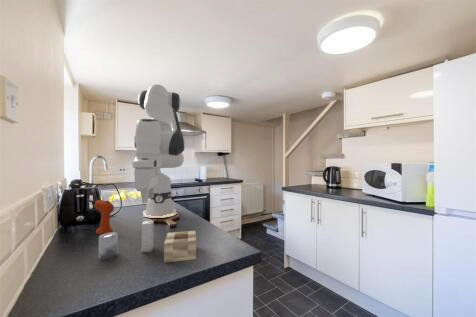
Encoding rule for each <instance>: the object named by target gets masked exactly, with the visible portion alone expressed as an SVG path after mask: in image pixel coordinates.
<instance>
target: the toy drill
mask: <svg viewBox="0 0 476 317" xmlns="http://www.w3.org/2000/svg"><path fill="white" fill-rule="evenodd" d="M86 201H87V202H89V203H91V205H92V206H93V207H94V208H96V210H98V212H100V213H101V215H100V225H99V226H100V227H99V228H97V229H96V230H95V233H96V235H102V234H106V233H113V232H114V230H113V228H112V226H111V222H110V220H111V214H113V212H114V209H115V206H114V204H113V203H112V202H110V201H109V200H104V199H100V200H99V199H97V200H96V199H94V200H91V199H87V200H86Z"/></svg>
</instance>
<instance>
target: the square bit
mask: <svg viewBox="0 0 476 317" xmlns="http://www.w3.org/2000/svg"><path fill="white" fill-rule="evenodd" d="M154 226H155V223H154V220H145V221H143V222H142V223H141V244H140V245H141V247H140V248H141V249H140V250H141V251H140V253H151V252H153V250H154V236H155V235H154V234H155V232H154V228H155V227H154Z"/></svg>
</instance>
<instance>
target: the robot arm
mask: <svg viewBox="0 0 476 317" xmlns="http://www.w3.org/2000/svg"><path fill="white" fill-rule="evenodd" d="M137 101H138V104H139V107H140V108H141V109H142V110H144V111H145V113H146V114H147V116H149V118H139V119H138V120H137V123H136V126H135V135H134V148H135V152H134V160H133V161H132V168H133V169H134V172H133V173H134V175H133V176H134V186H135V190H136V192H140V197H141V203H142V204H146V208H145V209H146V210H145V214H146V215H151V216H163V215H167V214H171V213H174V212H175V213H176V214H177V215H178V212H177V211H176V208H175V206H174V205H175V203H174V202H175V201H174V200H173V199H172V196H173V195H172V194H173V193H172V191H171V189H172V188H171V187H172V186H171V185H172V183H171V182H172V180H171V177H170V176H168V174H165V173H163V172H162V171H161V169H175V168H179V167H181V166H182V165H183V163H184V160H185V158H184V154H183V152H184V151H185V147H186V141H185V138H184V134H183V132H182V128H181V124H180V120H179V117H178V113H177V112H178V111H179V110H180V108H181V106H182V100H181V97H180V95H179V93H177V92H173V91H172V92H171V91H168V90H167V88H166V87H165V86H164V85H161V84H152V85H151V86H150V87H149V88H148V89H147V90H145V89H144V90H141V91H140V92H139V95H138V97H137ZM142 218H145V215H144V214H143V215H142Z"/></svg>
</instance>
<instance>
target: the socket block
mask: <svg viewBox="0 0 476 317" xmlns="http://www.w3.org/2000/svg"><path fill="white" fill-rule="evenodd" d="M192 260H197V234H196V230H186V231H172V232H167V234H166V236H165V240H164V243H163V262H164V264H165V263H171V262H172V263H173V262H182V261H192Z"/></svg>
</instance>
